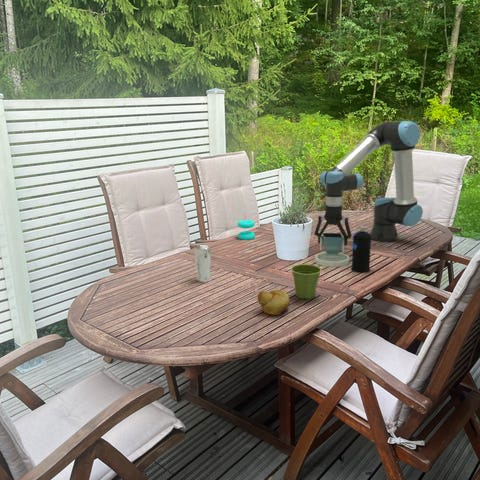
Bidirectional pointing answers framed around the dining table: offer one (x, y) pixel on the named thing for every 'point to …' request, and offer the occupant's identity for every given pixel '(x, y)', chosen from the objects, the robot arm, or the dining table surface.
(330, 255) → the saucer
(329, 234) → the flower pot
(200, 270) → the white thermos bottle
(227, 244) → the dining table surface
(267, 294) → the brown lumpy oval
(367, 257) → the aerosol can
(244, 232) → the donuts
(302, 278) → the plant pot
